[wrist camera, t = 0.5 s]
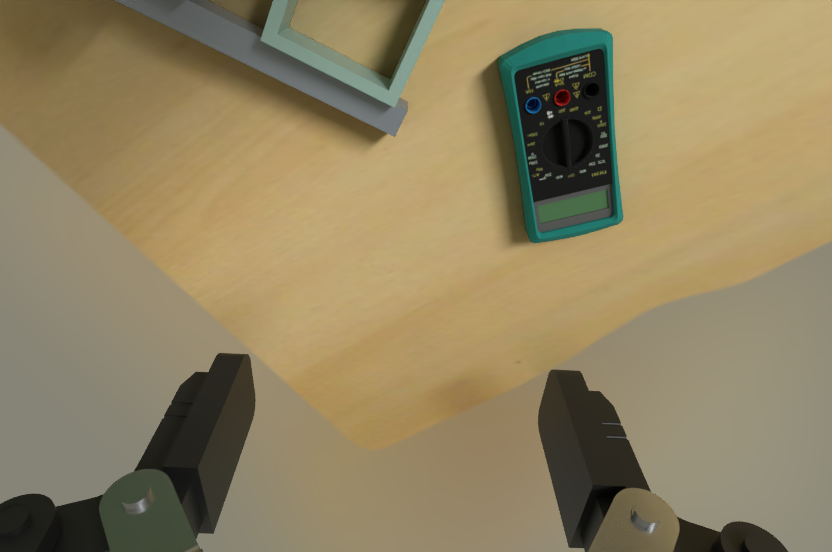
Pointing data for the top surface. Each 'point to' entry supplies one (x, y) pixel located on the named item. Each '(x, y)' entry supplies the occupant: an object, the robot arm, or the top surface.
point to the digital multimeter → (564, 132)
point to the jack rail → (299, 55)
